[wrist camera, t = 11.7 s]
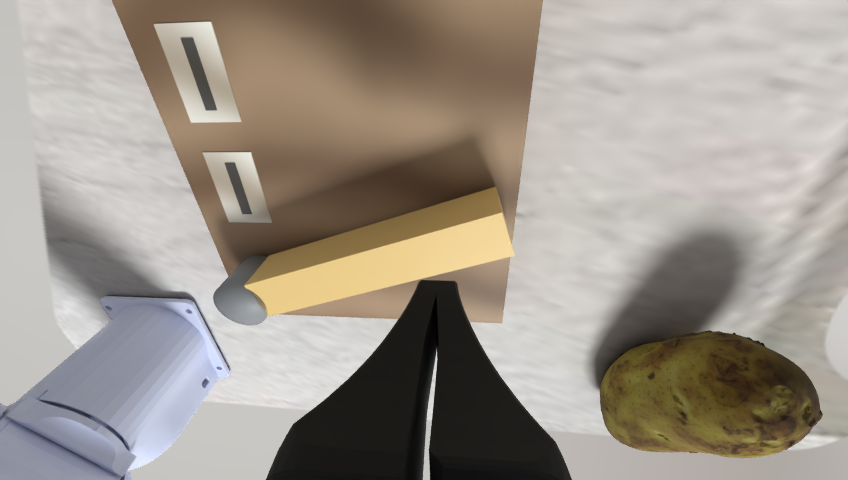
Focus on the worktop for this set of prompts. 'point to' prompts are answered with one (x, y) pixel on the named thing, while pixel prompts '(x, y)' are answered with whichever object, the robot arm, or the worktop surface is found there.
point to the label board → (341, 119)
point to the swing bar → (368, 258)
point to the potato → (708, 397)
